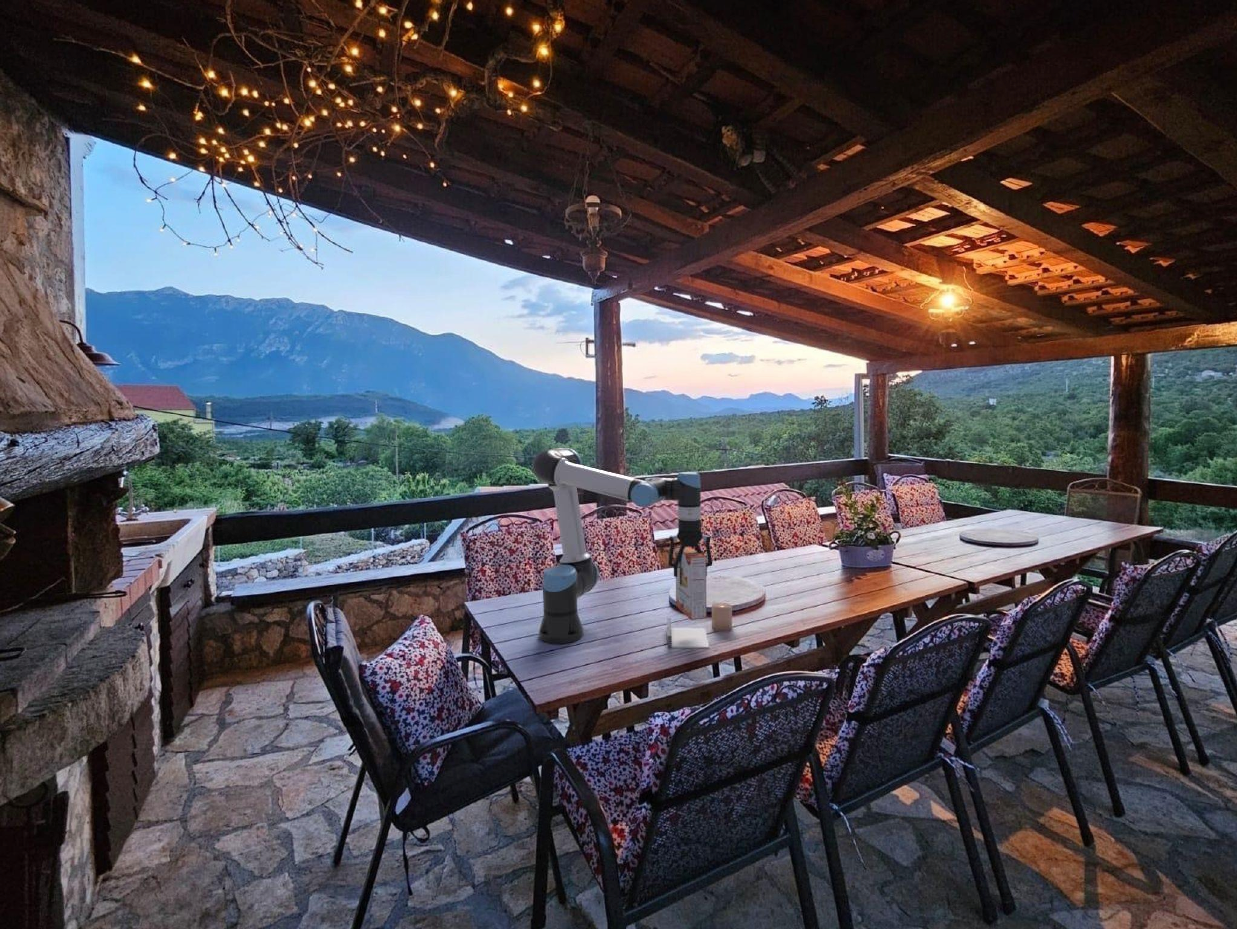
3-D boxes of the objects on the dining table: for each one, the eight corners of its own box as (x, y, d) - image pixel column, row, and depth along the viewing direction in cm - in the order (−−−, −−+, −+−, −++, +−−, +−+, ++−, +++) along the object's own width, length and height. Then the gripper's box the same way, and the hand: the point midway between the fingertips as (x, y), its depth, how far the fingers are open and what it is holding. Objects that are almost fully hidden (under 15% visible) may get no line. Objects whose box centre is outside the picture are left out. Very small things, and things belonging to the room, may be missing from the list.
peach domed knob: (712, 631, 192) (712, 609, 192) (711, 624, 199) (710, 602, 199) (733, 631, 192) (733, 609, 191) (730, 624, 199) (730, 602, 198)
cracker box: (674, 606, 192) (674, 547, 190) (691, 605, 193) (690, 546, 192) (689, 620, 178) (689, 557, 177) (707, 618, 180) (707, 555, 178)
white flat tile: (667, 647, 179) (667, 635, 179) (667, 629, 195) (667, 618, 195) (708, 648, 178) (708, 636, 178) (705, 629, 194) (705, 618, 194)
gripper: (659, 520, 180) (660, 589, 182) (721, 520, 179) (721, 589, 180) (659, 516, 188) (660, 582, 190) (718, 516, 186) (719, 583, 188)
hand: (690, 586), depth 185 cm, fingers closed on cracker box, 7 cm apart
